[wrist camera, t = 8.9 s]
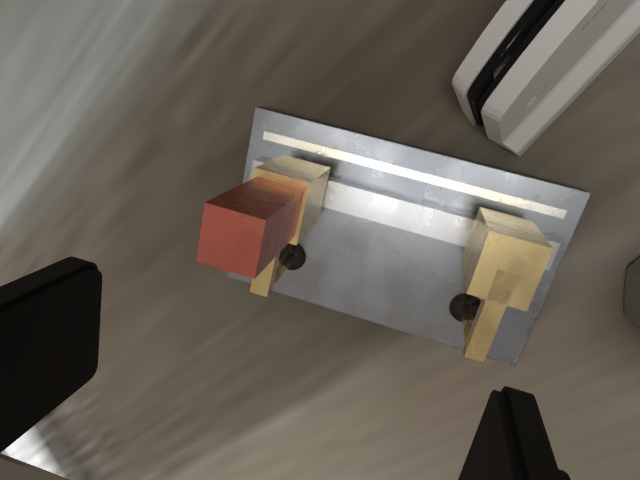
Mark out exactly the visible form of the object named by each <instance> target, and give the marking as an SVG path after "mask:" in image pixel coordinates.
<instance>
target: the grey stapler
mask: <svg viewBox="0 0 640 480" xmlns="http://www.w3.org/2000/svg"><path fill="white" fill-rule="evenodd" d="M639 33H640V0H506V1H505V3H504V4H503V5H502V7H501V8H500V9H499V11H498V12H497V13H496V15H495V16H494V18H493V19H492V20H491V22H490V23H489V24H488V26H487V27H486V29H485V30H484V31H483V33H482V34H481V36H480V37H479V39H478V40H477V42H476V43H475V45H474V46H473V47H472V49H471V50H470V52H469V53H468V55H467V56H466V58H465V59H464V61H463V62H462V64H461V65H460V67H459V68H458V70H457V71H456V73H455V75H454V77H453V80H452V85H453V88H454V90H455V93H456V95H457V98H458V101H459V103H460V106H461V108H462V111H463V113H464V114H465V116H466V117H467V119H468V120H469V121H470V123H471V124H472V125H473V126H474V125H475V124H476V123H477V124H478V125H480V126H481V125H482V124H483V123H484V127H485V130H486V134H487V138H488V139H490V140H492V141H493V142H495V143H497V144H499V145H501V146H502V147H504V148H506V149H508V150H510V151H511V152H512V153H514V154H515V155H517V156H519V157H520V156H521V155H522V154H523V153H524V152H525V151H526V150H527V149H528V148H529V147H530V146H531V145H532V144H533V143H534V142H535V141H536V140H537V139H538V138H539V136H540V135H541V134H542V133H543V132H544V131H545V130H546V129H547V128H548V127H549V126H550V125H551V124H552V123H553V122H554V121H555V120H556V119H557V118H558V117H559V116H560V115H561V114H562V113H563V112H564V111H565V109H566V108H567V107H568V106H569V105H570V104H571V103H572V102H573V101H574V100H575V99H576V98H577V97H578V96H579V95H580V94H581V93H582V92H583V91H584V90H585V89H586V88H587V87H588V86H589V85H590V83H591V82H592V81H593V80H594V79H595V78H596V77H597V76H598V75H599V74H600V73H601V72H602V71H603V70H604V69H605V68H606V67H607V66H608V65H609V64H610V63H611V62H612V61H613V60H614V59H615V58H616V56H617V55H618V54H619V53H620V52H621V51H622V50H623V49H624V48H625V47H626V46H627V45H628V44H629V43H630V42H631V41H632V40H633V39H634V38H635V37H636V36H637V35H638V34H639Z"/></svg>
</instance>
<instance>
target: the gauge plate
mask: <svg viewBox="0 0 640 480" xmlns="http://www.w3.org/2000/svg"><path fill="white" fill-rule="evenodd" d="M282 155H286V156H290V157H294V158H297V159H301V160H305V161H309V162H312V163H316V164H320V165H323V166H327V167H331V168H330V173H329V177H328V181H327V186H326V190H325V194H324V198H323V203H322V207H321V211H320V215H319V220H318V221H317V223H316V224H315V225H314V226H313V227H312V228H311V230H310V231H309V232H308V233H307V234H306V235H305V236H304V238H303V239H302V240H301V241H300V242H299V243H298V244H297V246H296V245H293V244H290V243H288V244H287V245H286V246H285V247H284V248H283V249H282V251H281V252H280V255H279V260H278V263H279V261H280V260H281V259H282V258H283V257H284V256H285V255H286V254H287V253H291V254H292V255H293V256H294V261H293V262H292V264H291V265H290V266H289V267H288V268H287V270H286V271H285V272H284V273H283V275H282V276H281V277H280V278H279V280H278V281H277V282H276V283H275V284H274V286H273V288H272V291H275V292H278V293H281V294H285V295H288V296H291V297H294V298H297V299H301V300H304V301H307V302H310V303H313V304H317V305H320V306H323V307H326V308H330V309H333V310H336V311H339V312H342V313H346V314H349V315H352V316H355V317H358V318H362V319H365V320H368V321H371V322H375V323H378V324H381V325H384V326H387V327H391V328H394V329H397V330H400V331H403V332H407V333H410V334H413V335H416V336H419V337H423V338H426V339H429V340H432V341H436V342H439V343H442V344H445V345H448V346H452V347H455V348H458V349H461V350H463V352H464V357H467V358H470V359H473V360H477V361H480V362H483V363H484V361H485V358H486V357H487V358H490V359H493V360H497V361H500V362H503V363H506V364H509V365H513V366H516V365H517V363H518V360H519V358H520V356H521V353H522V351H523V349H524V346H525V344H526V342H527V339H528V337H529V335H530V332H531V330H532V328H533V326H534V323H535V321H536V319H537V316H538V314H539V312H540V309H541V307H542V305H543V302H544V300H545V298H546V295H547V293H548V291H549V289H550V286H551V284H552V282H553V279H554V277H555V275H556V272H557V270H558V268H559V265H560V263H561V261H562V259H563V256H564V254H565V252H566V249H567V247H568V245H569V242H570V240H571V238H572V235H573V233H574V231H575V228H576V226H577V224H578V222H579V219H580V217H581V215H582V212H583V210H584V208H585V205H586V203H587V201H588V198H589V196H590V194H591V193H589V192H588V191H586V190H583V189H580V188H576V187H572V186H568V185H564V184H560V183H556V182H552V181H548V180H544V179H540V178H537V177H533V176H529V175H525V174H521V173H517V172H513V171H509V170H505V169H501V168H498V167H494V166H490V165H486V164H482V163H478V162H474V161H470V160H466V159H462V158H459V157H455V156H451V155H447V154H443V153H439V152H435V151H431V150H427V149H423V148H420V147H416V146H412V145H408V144H404V143H400V142H396V141H392V140H388V139H384V138H380V137H377V136H373V135H369V134H365V133H361V132H357V131H353V130H349V129H345V128H341V127H338V126H334V125H330V124H326V123H322V122H318V121H314V120H310V119H306V118H302V117H299V116H295V115H291V114H287V113H283V112H279V111H275V110H271V109H267V108H263V107H256V108H255V114H254V120H253V126H252V131H251V137H250V143H249V149H248V155H247V161H246V166H245V172H244V178H243V183H245V182H247V181H249V180H251V179H252V178H253V173H254V168H255V167H257V166H259V165H261V164H264V163H266V162H268V161H271V160H273V159H275V158H278V157H280V156H282ZM227 277H230V278H233V279H236V280H240V281H243V282H246V283H249V284H251V282H252V278H249V277H245V276H242V275H239V274H236V273H233V272H229V271H228V272H227Z"/></svg>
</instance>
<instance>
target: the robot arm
mask: <svg viewBox="0 0 640 480" xmlns="http://www.w3.org/2000/svg"><path fill="white" fill-rule="evenodd" d="M101 292H102V274H101V272H100V271H98V268H97V265H96V264H95V263H92V262H89V261H85V260H82V259H79V258H75V257H68V258H65V259H63V260H61V261H59V262H56V263H54V264H52V265H49V266H47V267H45V268H42V269H40V270H38V271H36V272H33V273H31V274H29V275H26V276H24V277H22V278H19V279H17V280H15V281H12V282H10V283H8V284H6V285H3V286H1V287H0V480H69V479H67V478H64V477H62V476H59V475H56V474H54V473H51V472H48V471H46V470H43V469H41V468H38V467H35V466H33V465H30V464H27V463H25V462H22V461H19V460H17V459H14V458H11V457H9V456H6V455H3V454H1V452H2V451H3V450H4V449H6V448H7V447H8V446H9V445H11V444H12V443H13V442H14V441H16V440H17V439H18V438H19V437H20V436H22V435H23V434H24V433H25V432H27V431H28V430H29V429H30V428H31V427H33V426H34V425H35V424H36V423H38V422H39V421H40V420H41V419H43V418H44V417H45V416H46V415H47V414H49V413H50V412H51V411H52V410H54V409H55V408H56V407H57V406H59V405H60V404H61V403H62V402H63V401H65V400H66V399H67V398H68V397H70V396H71V395H72V394H73V393H74V392H76V391H77V390H78V389H79V388H81V387H82V386H83V385H84V384H86V383H87V382H88V381H89V380H90V379H91V378H92V377H93V376H94V374H95V372H96V370H97V366H98V351H99V331H100V311H101ZM458 480H571V479H570V477H569V475H568V474H567V473H566V472H564V471H562V470H559V469H558V467H557V464H556V461H555V458H554V455H553V451H552V448H551V445H550V442H549V439H548V436H547V433H546V430H545V427H544V424H543V421H542V418H541V415H540V411H539V408H538V405H537V402H536V399H535V397H534V395H533V394H530V393H527V392H524V391H520V390H517V389H513V388H510V387H507V386H505V387H504V388H503V389H502V390H501V392H500V391H496V390H493V391H492V393H491V395H490V397H489V400H488V402H487V405H486V408H485V410H484V413H483V416H482V418H481V421H480V424H479V426H478V429H477V432H476V434H475V437H474V440H473V442H472V445H471V447H470V450H469V453H468V455H467V458H466V461H465V463H464V466H463V469H462V471H461V474H460V477H459V479H458Z"/></svg>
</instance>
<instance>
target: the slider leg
mask: <svg viewBox="0 0 640 480" xmlns="http://www.w3.org/2000/svg"><path fill="white" fill-rule="evenodd" d="M330 168H331V167H327V166H323V165H320V164H316V163H312V162H309V161H305V160H301V159H297V158H294V157H290V156H286V155H282V156H280V157H278V158H275V159H273V160H271V161H268V162H266V163H264V164H261V165H259V166H257V167H255V168H254V173H253V178H252V179H251V180H249V181H247V182H245V183H243V184H241V185H239V186H237V187H235V188H233V189H231V190H229V191H227V192H225V193H223V194H221V195H219V196H217V197H215V198H213V199H211V200H209V201H207V202H205V204H204V211H203V218H202V225H201V232H200V239H199V246H198V253H197V259H196V261H197V262H200V263H203V264H207V265H210V266H213V267H216V268H220V269H223V270H226V271H229V272H233V273H236V274H239V275H242V276H245V277H249V278H252V282H251V288H250V292H252V293H255V294H258V295H262V296H265V297H268V295H269V294H270V293H271V292H272V288H273V286H274V284H275V283H276V282H277V281H278V280H279V278H280V277H281V276H282V275H283V273H284V272H285V271H286V270H287V268H288V267H289V266H290V265H291V264H292V262H293V261H294V256H293V255H292V254H291V253H287V254H286V255H285V256H284V257H283V258H282V259H281V260H280V261H279V263H278V260H279V255H280V252H281V251H282V249H283V248H284V247H285V246H286V245H287V244H288V243H290V244H293V245H296V246H297V244H298V243H299V242H300V241H301V240H302V239H303V238H304V236H305V235H306V234H307V233H308V232H309V231H310V230H311V228H312V227H313V226H314V225H315V224H316V223H317V221H318V220H319V215H320V211H321V207H322V203H323V198H324V194H325V190H326V186H327V181H328V177H329V173H330Z"/></svg>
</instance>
